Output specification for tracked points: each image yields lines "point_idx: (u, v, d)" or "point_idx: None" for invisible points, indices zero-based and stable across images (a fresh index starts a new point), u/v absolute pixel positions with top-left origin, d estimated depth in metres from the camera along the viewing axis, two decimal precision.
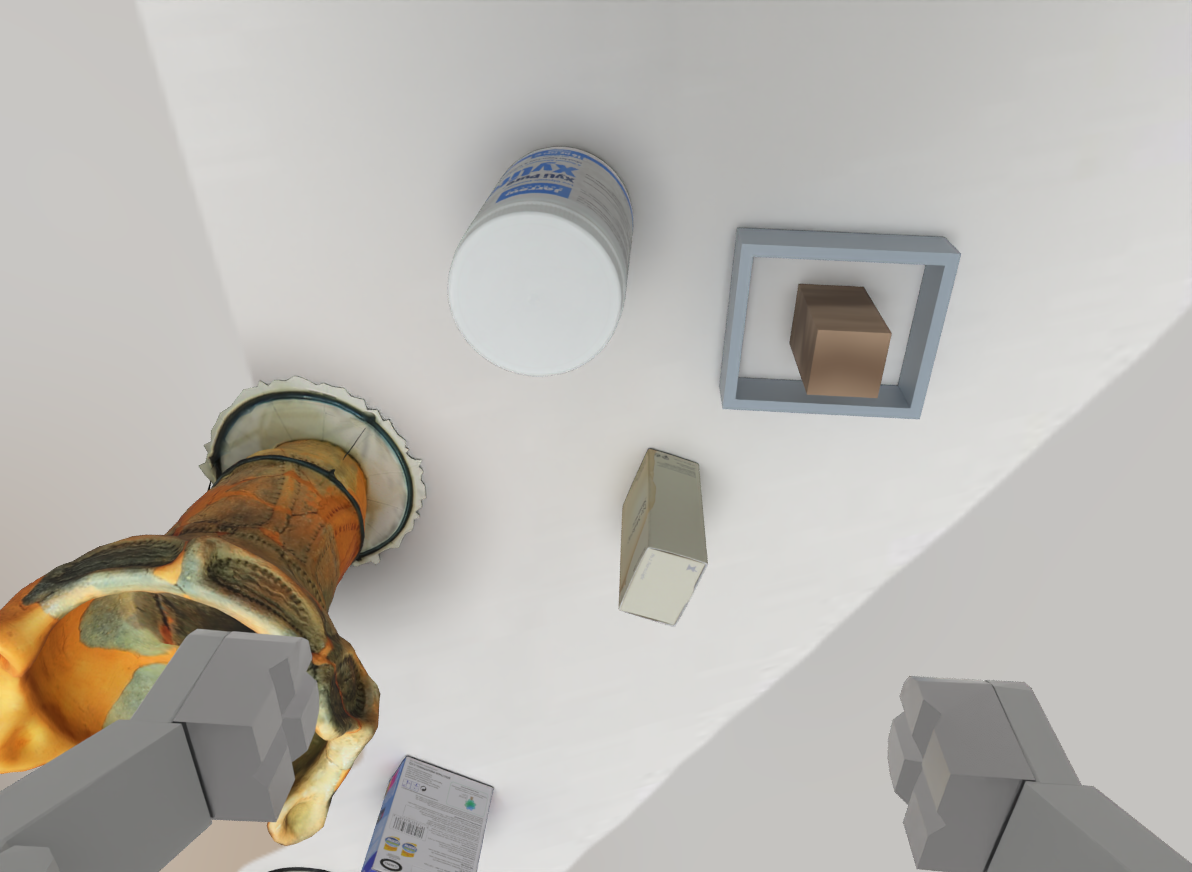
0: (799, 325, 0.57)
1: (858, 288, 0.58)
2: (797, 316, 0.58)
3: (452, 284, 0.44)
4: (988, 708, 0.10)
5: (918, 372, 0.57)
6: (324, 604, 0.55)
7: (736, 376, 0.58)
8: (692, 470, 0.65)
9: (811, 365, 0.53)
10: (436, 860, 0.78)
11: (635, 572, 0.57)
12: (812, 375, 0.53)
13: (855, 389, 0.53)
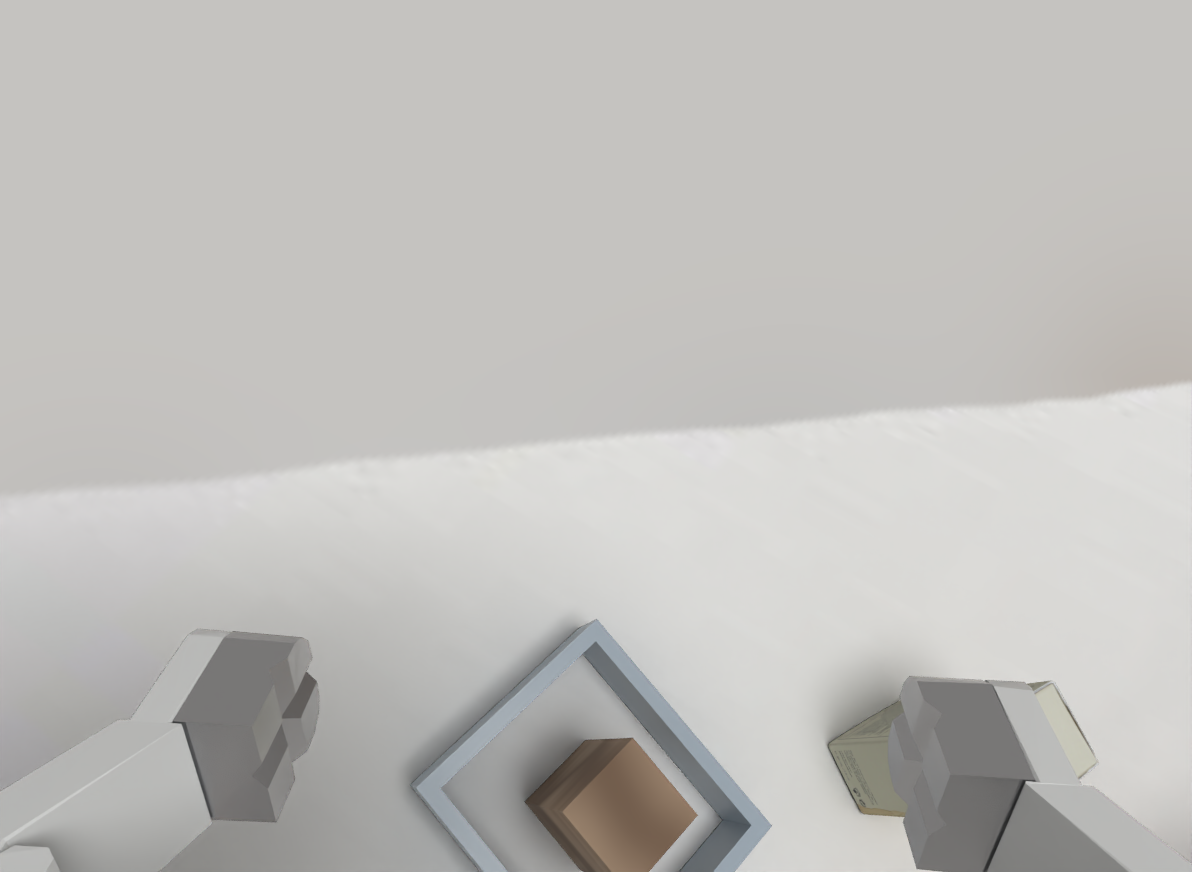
0: None
1: (531, 808, 0.43)
2: None
3: None
4: (988, 708, 0.10)
5: (557, 677, 0.43)
6: None
7: (730, 854, 0.42)
8: (844, 753, 0.48)
9: None
10: None
11: None
12: (674, 835, 0.37)
13: (646, 771, 0.38)
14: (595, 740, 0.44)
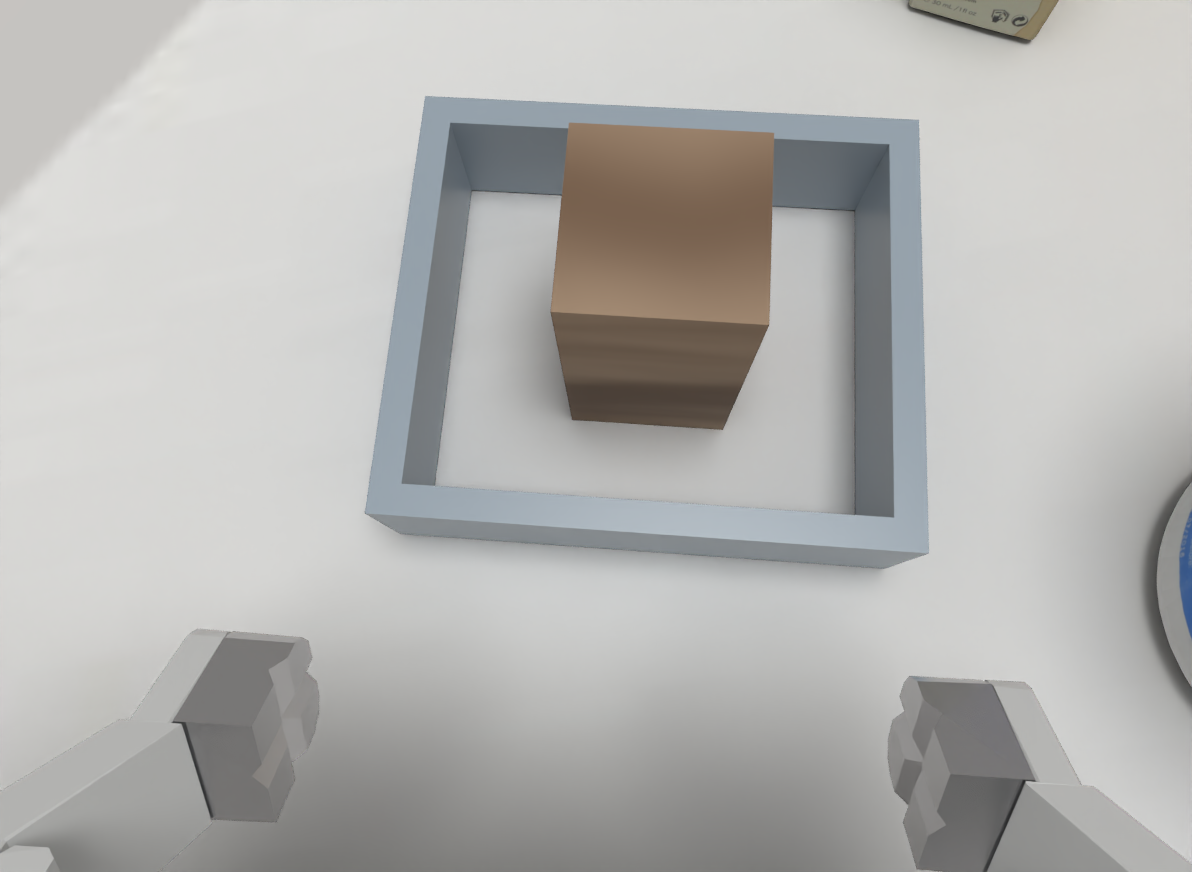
0: None
1: (586, 416, 0.25)
2: None
3: None
4: (988, 708, 0.10)
5: (439, 211, 0.23)
6: None
7: (894, 202, 0.23)
8: None
9: (770, 218, 0.18)
10: None
11: None
12: (765, 189, 0.18)
13: (634, 146, 0.18)
14: None
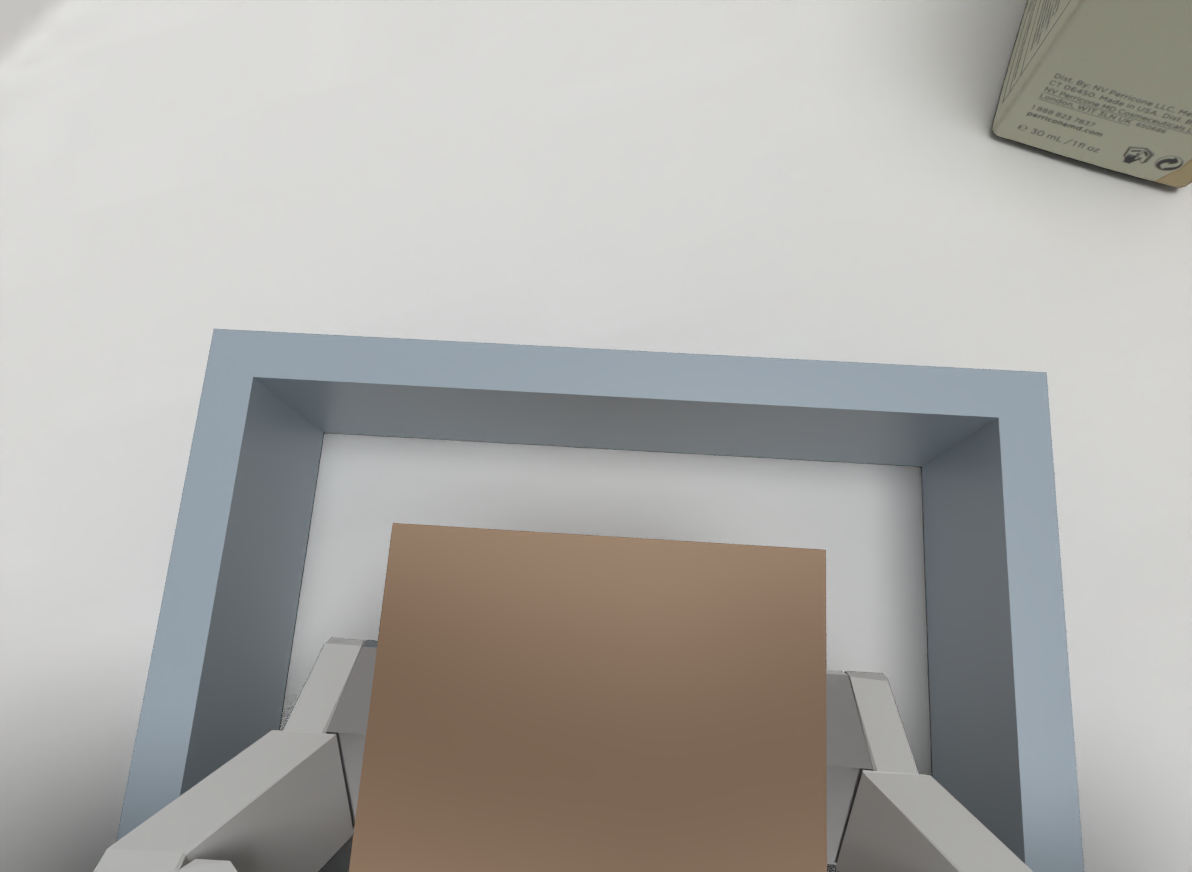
0: None
1: None
2: None
3: None
4: (840, 698, 0.10)
5: (227, 541, 0.13)
6: None
7: (1012, 528, 0.13)
8: (1045, 103, 0.17)
9: (821, 753, 0.08)
10: None
11: None
12: (809, 691, 0.08)
13: (530, 582, 0.09)
14: None
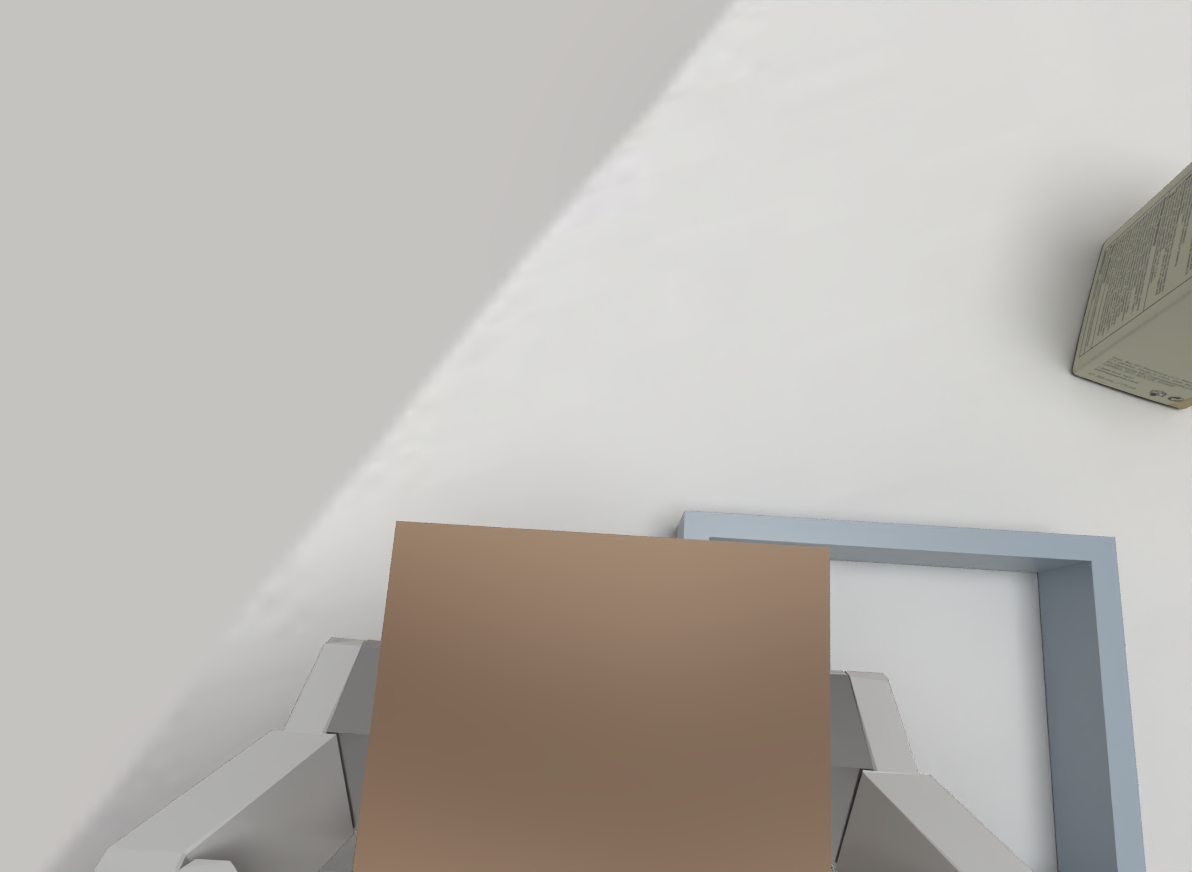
0: None
1: None
2: None
3: None
4: (840, 698, 0.10)
5: None
6: None
7: (1099, 618, 0.26)
8: (1106, 366, 0.31)
9: (825, 751, 0.08)
10: None
11: None
12: (813, 688, 0.08)
13: (534, 580, 0.09)
14: None
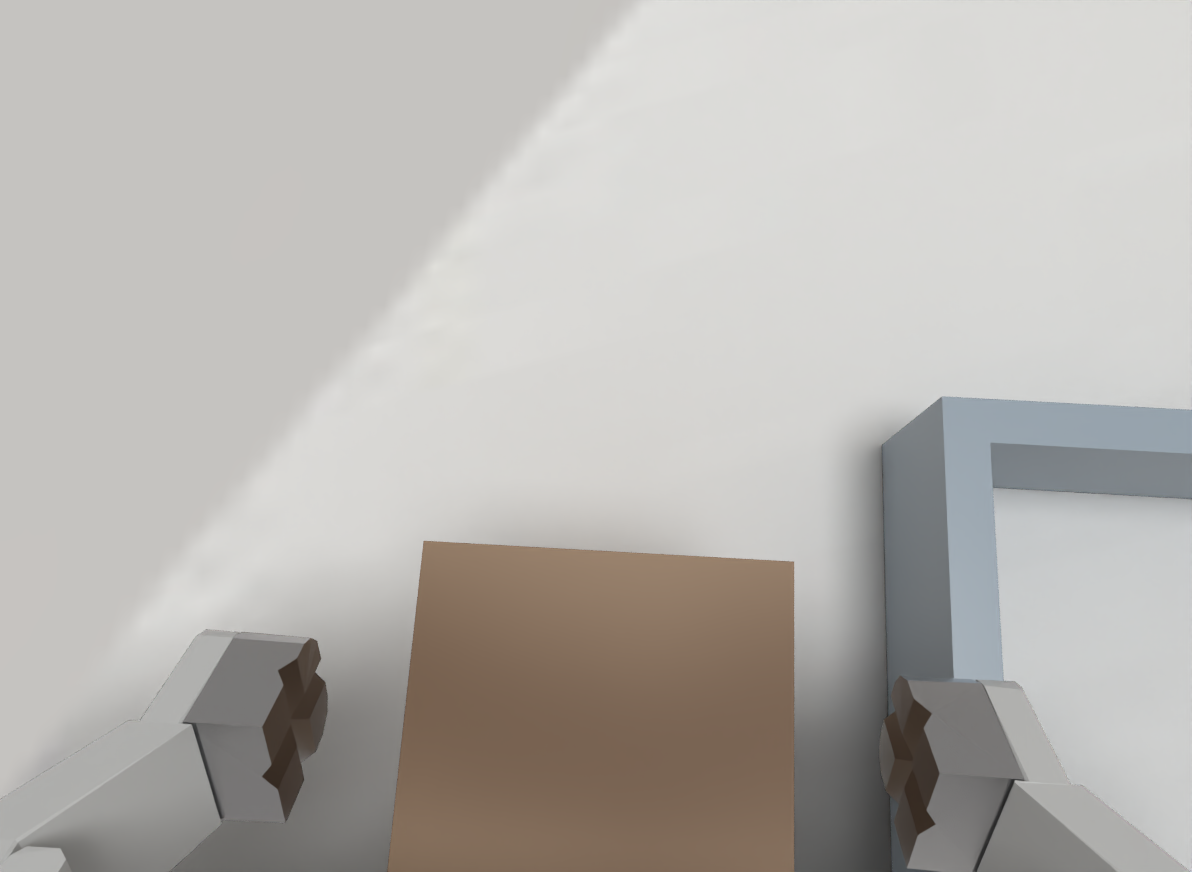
0: None
1: None
2: None
3: None
4: (978, 707, 0.10)
5: (996, 598, 0.14)
6: None
7: None
8: None
9: None
10: None
11: None
12: (780, 682, 0.10)
13: (541, 591, 0.10)
14: None
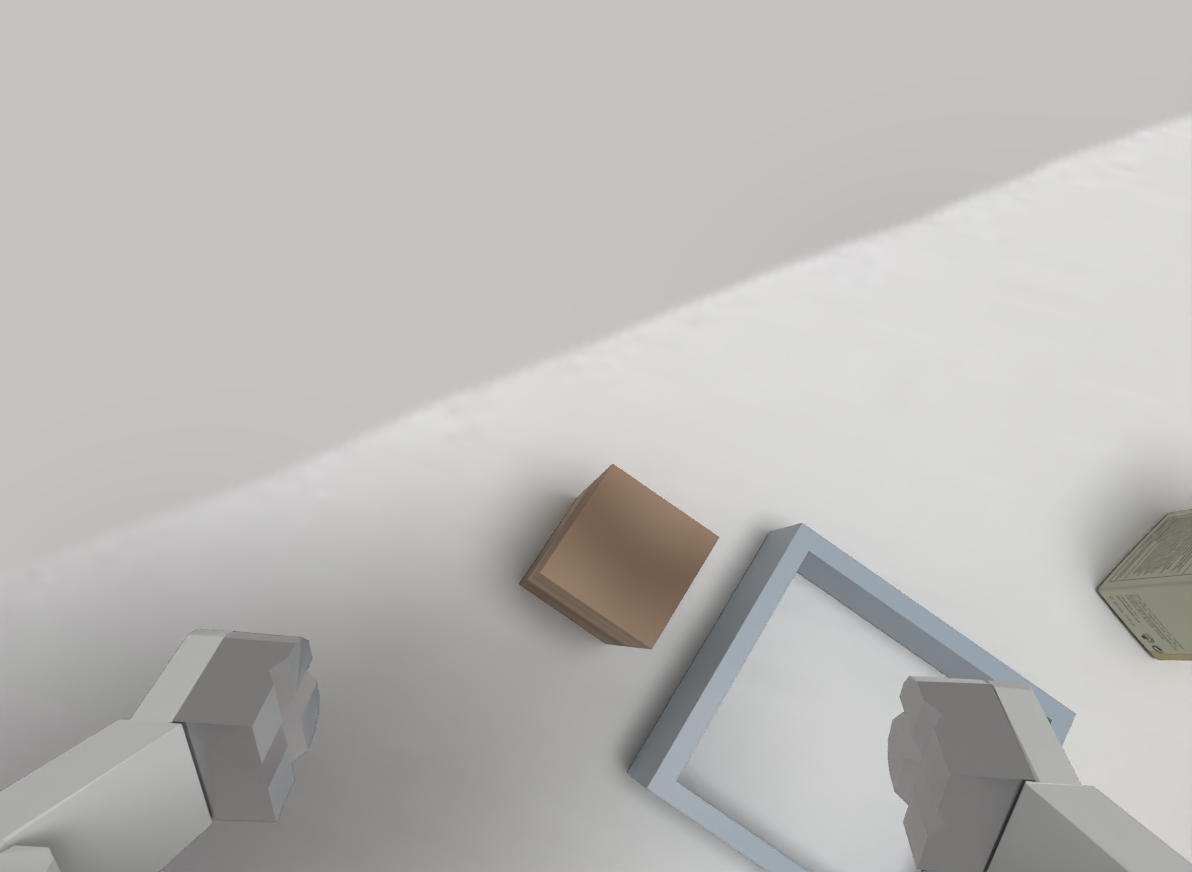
0: None
1: (528, 589, 0.35)
2: None
3: None
4: (988, 708, 0.10)
5: (775, 607, 0.33)
6: None
7: None
8: (1126, 598, 0.38)
9: (688, 585, 0.29)
10: None
11: None
12: (694, 568, 0.29)
13: (640, 500, 0.29)
14: None
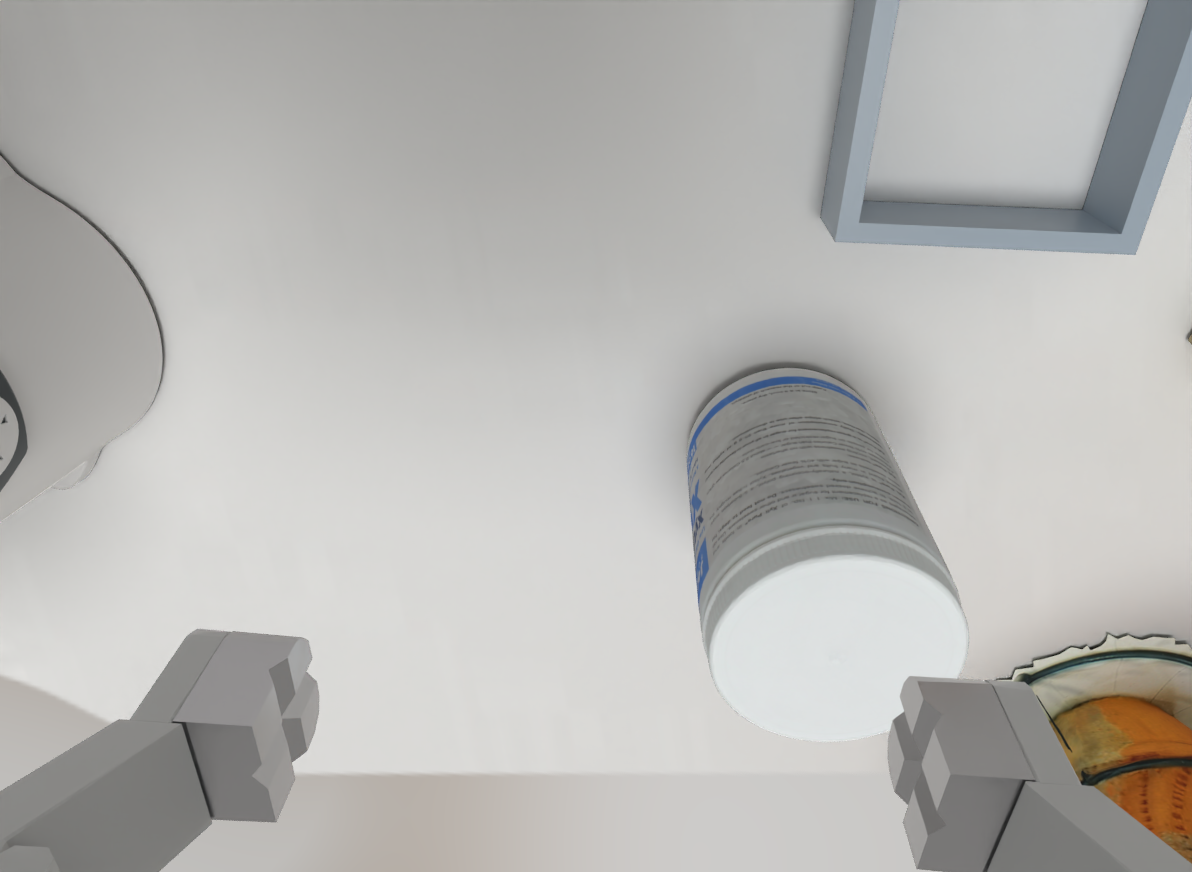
0: None
1: None
2: None
3: (803, 737, 0.33)
4: (988, 708, 0.10)
5: None
6: None
7: (1074, 235, 0.34)
8: None
9: None
10: None
11: None
12: None
13: None
14: None
